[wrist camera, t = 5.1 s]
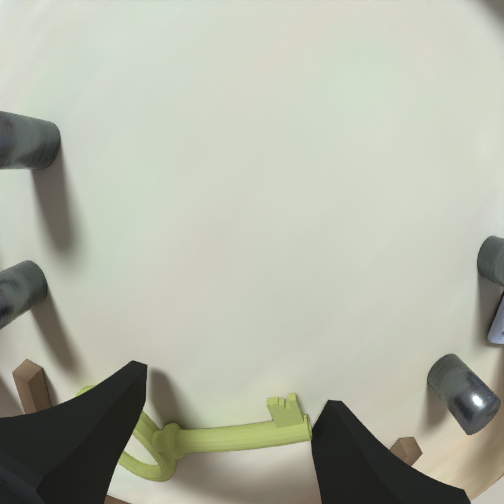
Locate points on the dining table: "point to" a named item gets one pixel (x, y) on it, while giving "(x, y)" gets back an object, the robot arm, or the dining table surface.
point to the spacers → (34, 285)
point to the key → (214, 437)
